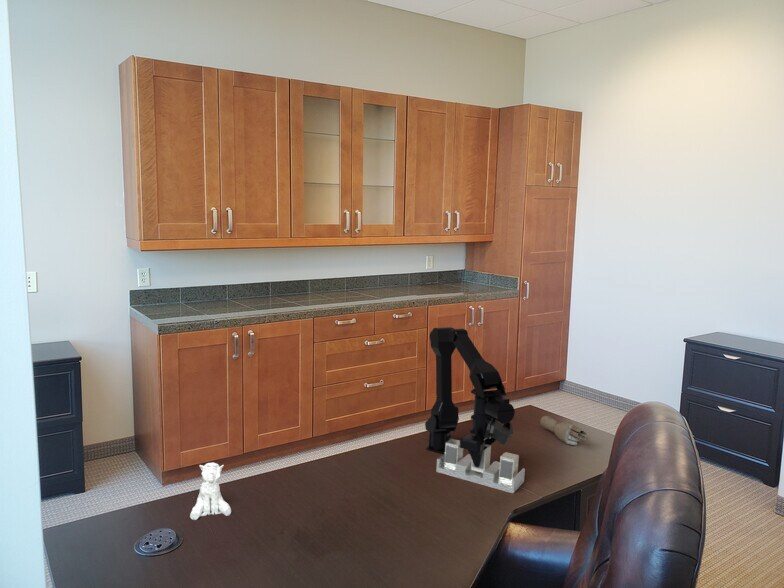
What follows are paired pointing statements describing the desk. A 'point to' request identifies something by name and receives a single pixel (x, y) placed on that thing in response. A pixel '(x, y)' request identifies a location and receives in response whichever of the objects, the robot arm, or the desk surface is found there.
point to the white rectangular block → (483, 460)
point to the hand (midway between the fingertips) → (480, 464)
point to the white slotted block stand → (494, 476)
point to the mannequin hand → (563, 430)
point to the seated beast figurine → (210, 494)
